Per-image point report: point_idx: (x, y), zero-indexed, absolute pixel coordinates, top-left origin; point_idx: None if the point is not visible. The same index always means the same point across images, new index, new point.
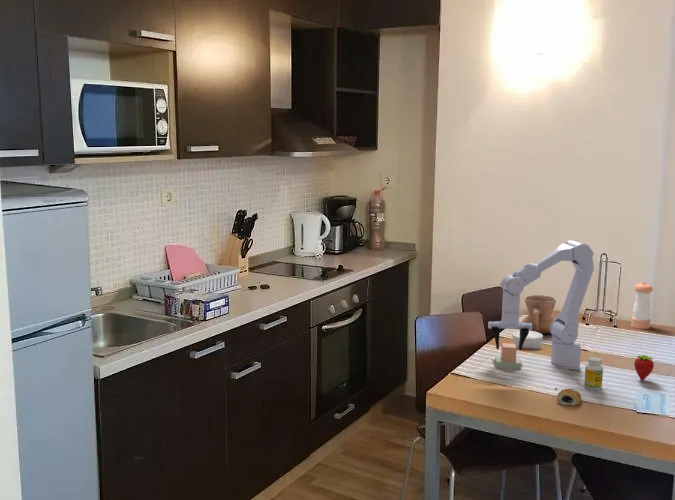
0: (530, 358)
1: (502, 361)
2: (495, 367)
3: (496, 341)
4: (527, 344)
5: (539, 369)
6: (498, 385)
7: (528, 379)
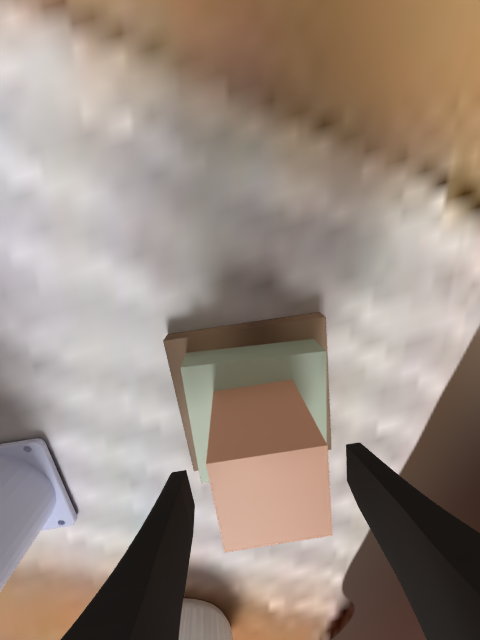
0: None
1: (292, 373)
2: (319, 341)
3: (420, 495)
4: None
5: (102, 414)
6: (306, 84)
7: (139, 250)
